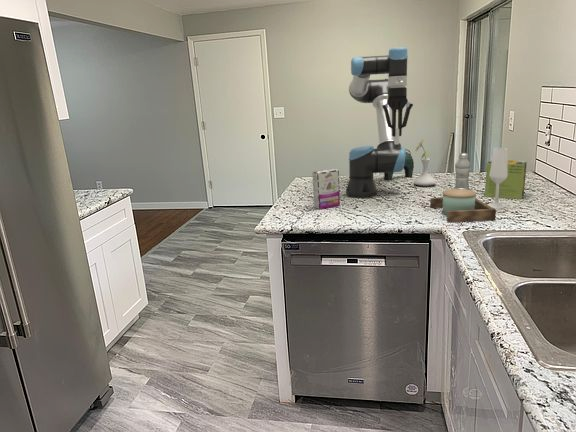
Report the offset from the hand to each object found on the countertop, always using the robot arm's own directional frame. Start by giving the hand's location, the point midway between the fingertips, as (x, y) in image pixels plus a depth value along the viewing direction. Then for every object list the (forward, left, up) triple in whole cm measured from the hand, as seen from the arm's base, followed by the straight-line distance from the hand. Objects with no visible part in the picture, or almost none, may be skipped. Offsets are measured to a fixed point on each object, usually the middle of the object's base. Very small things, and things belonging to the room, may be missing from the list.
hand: (396, 144), depth 189 cm
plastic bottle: (+22, +23, -27) cm, 41 cm away
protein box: (+38, +34, -27) cm, 58 cm away
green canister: (+29, -5, -27) cm, 39 cm away
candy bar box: (-25, -18, -27) cm, 41 cm away
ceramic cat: (-22, +55, -27) cm, 65 cm away
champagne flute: (+39, +12, -27) cm, 49 cm away
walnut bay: (+29, -5, -26) cm, 39 cm away
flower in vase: (-2, +42, -27) cm, 50 cm away
